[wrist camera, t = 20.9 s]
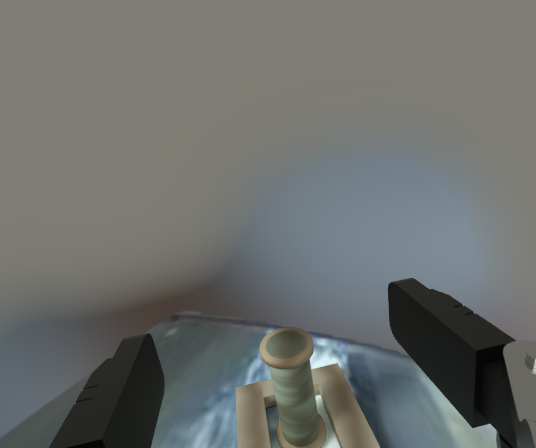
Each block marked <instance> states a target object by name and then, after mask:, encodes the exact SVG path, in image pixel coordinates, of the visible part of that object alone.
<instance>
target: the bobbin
mask: <svg viewBox="0 0 536 448" xmlns="http://www.w3.org/2000/svg"><path fill="white" fill-rule="evenodd" d="M313 350H314V347H313V340H312V337H311V336H310V334H309V333H308V332H306V331H305V330H302V329H300V328H295V327H286V328H280V329H277V330H274V331H272V332H271V333H269V334H268V335H266V336H265V337H264V338H263V340H262V341H261V344H260V353H261V357H262V359H263V361H264V362H265V363H266V364H267V365H268V366H269V368H270V373H271V378H272V383H273V389H274V394H275V399H276V404H277V409H278V414H279V422H278V424H277V437H278V441H279V444H280V446H281V447H282V448H321V447H322V445H323V444H324V441H325V437H326V430H325V424H324V421H323V419H322V417H321V416H320V415H319V414H318V413H317V406H316V399H315V393H314V386H313V379H312V373H311V366H310V357H311V356H312V354H313Z"/></svg>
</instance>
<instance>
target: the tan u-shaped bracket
mask: <svg viewBox="0 0 536 448" xmlns="http://www.w3.org/2000/svg"><path fill="white" fill-rule="evenodd" d="M311 373H312V379H313V386H314V393H315V396H316V395H321V397H322V400H323V403H324V405H325V408H326V411H327V413H328V416H329V419H330V421H331V424H332V427H333V429H334V432H335V434H336V437H337V440H338V442H339V445H340V448H380V446H379V444H378V442H377V440H376V438H375V436H374V434H373V432H372V430H371V428H370V426H369V424H368V422H367V420H366V418H365V416H364V414H363V412H362V410H361V408H360V406H359V405H358V403H357V401H356V399H355V397H354V395H353V393H352V391H351V389H350V387H349V385H348V383H347V381H346V379H345V377H344V375H343V373H342V371H341V369H340V367H339V365H338V363H337V364H332V365H328V366H324V367H320V368H316V369H312V370H311ZM275 405H277V404H276V399H275V394H274V389H273V383H272V379H270V380H266V381H261V382H257V383H253V384H249V385H245V386H240V387H236V408H237V436H238V448H271V441H270V434H269V427H268V420H267V414H266V408H267V407H271V406H275Z"/></svg>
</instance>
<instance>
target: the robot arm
mask: <svg viewBox="0 0 536 448" xmlns="http://www.w3.org/2000/svg"><path fill="white" fill-rule="evenodd" d="M388 301H389V321H390V327H391V330H392V333H393V335H394V337H395V339H396V340H397V341H398V343H399V344H400V345H401V346H402V347H403V348H404V350H405V351H406V352H407V353H408V354H409V355H410V357H411V358H412V359H413V360H414V361H415V362H416V364H417V365H418V366H419V367H420V368H421V369H422V370H423V372H424V373H425V374H426V375H427V376H428V377H429V378H430V380H431V381H432V382H433V383H434V384H435V385H436V387H437V388H438V389H439V390H440V391H441V392H442V393H443V395H444V396H445V397H446V398H447V399H448V400H449V401H450V403H451V404H452V405H453V406H454V407H455V408H456V410H457V411H458V412H459V413H460V414H461V415H462V416H463V418H464V419H465V420H466V421H467V422H468V423H469V424H470V426H471V427H472V428H475V427H479V426H483V425H486V424H491V425H492V426H493V427H494V428H495V429H496V430H497V436H496V442H497V448H536V342H534V341H516V340H514V339H513V338H511V337H510V336H509V335H507V334H505V333H504V332H503V331H501V330H500V329H498V328H497V327H495V326H494V325H492V324H491V323H489V322H488V321H486V320H485V319H483V318H482V317H480V316H479V315H477V314H474V313H473V311H471V310H470V309H469V308H467V307H466V306H463V305H462V304H461V303H460V302H458V301H457V300H455V299H454V298H452V297H451V296H449V295H447V294H444V293H442V292H439V291H436V290H434V289H428V288H427V287H425V286H424V285H422V284H421V283H420V282H418V281H417V280H415V279H414V278H409V279H404V280H399V281H395V282H391V283H389V285H388ZM164 386H165V384H164V374H163V371H162V367H161V364H160V361H159V357H158V354H157V351H156V348H155V344H154V341H153V338H152V336H151V335H150V334H149V333H147V334H143V335H138V336H134V337H129V338H124V339H123V340H122V341H121V344H120V345H119V347H118V349H117V351H116V353H115V355H114V357H113V358H109V359H106V360H105V361H104V362H103V363H102V364H101V365H100V366H99V367H98V368H97V369H96V370H95V371H94V372H93V373H92V375H91V376H90V378H89V380H88V381H87V383H86V385H85V387H84V391H82V392H81V393H80V395H79V397H78V399H77V400H76V404H75V405H74V406H73V407H72V409H71V411H70V412H69V414H68V416H67V418H66V419H65V421H64V423H63V424H62V426H61V428H60V430H59V431H58V433H57V435H56V436H55V438H54V440H53V442H52V443H51V445H50V447H49V448H151V444H152V440H153V436H154V432H155V428H156V424H157V420H158V416H159V411H160V407H161V403H162V399H163V395H164Z"/></svg>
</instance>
